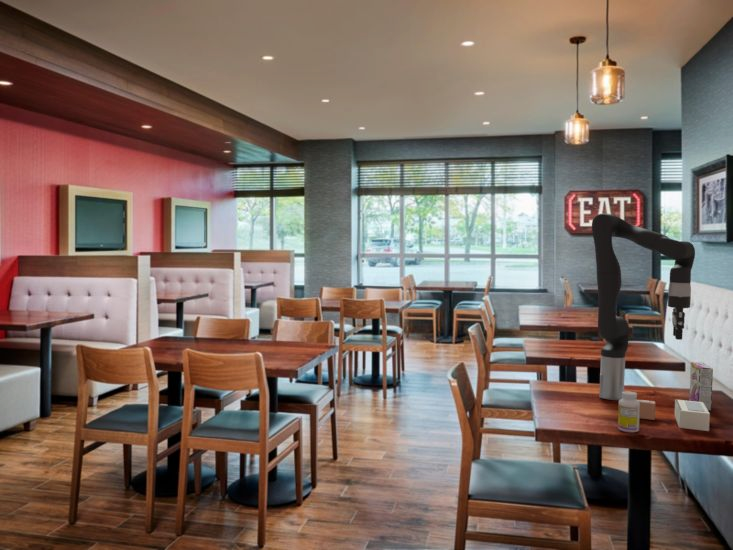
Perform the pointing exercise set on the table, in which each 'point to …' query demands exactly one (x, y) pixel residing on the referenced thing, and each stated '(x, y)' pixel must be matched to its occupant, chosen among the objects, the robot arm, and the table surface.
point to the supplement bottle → (628, 412)
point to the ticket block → (692, 415)
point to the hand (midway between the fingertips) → (677, 337)
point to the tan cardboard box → (647, 409)
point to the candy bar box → (701, 383)
